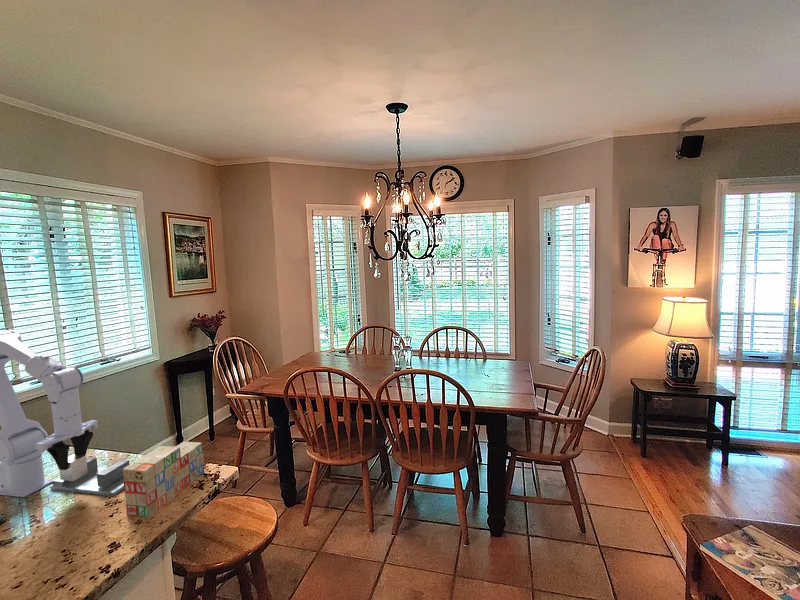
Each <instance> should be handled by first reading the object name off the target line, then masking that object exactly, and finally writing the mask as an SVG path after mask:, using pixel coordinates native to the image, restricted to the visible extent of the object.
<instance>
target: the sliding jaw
mask: <svg viewBox="0 0 800 600" xmlns="http://www.w3.org/2000/svg"><path fill="white" fill-rule="evenodd" d="M128 465H130V460H129V459H121V460H119V461H117V462H115V463H114V464H112V465H110V466H108V467H105V468H106V469H105V470H103V471H101V472H99V473H98V474H97V483H98V486H99V487H107V486H108V485H110V484H112V483H113V482H115V481H116V480H118V479H120V478H121V477H123V469H124V468H125V467H127V466H128Z"/></svg>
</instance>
